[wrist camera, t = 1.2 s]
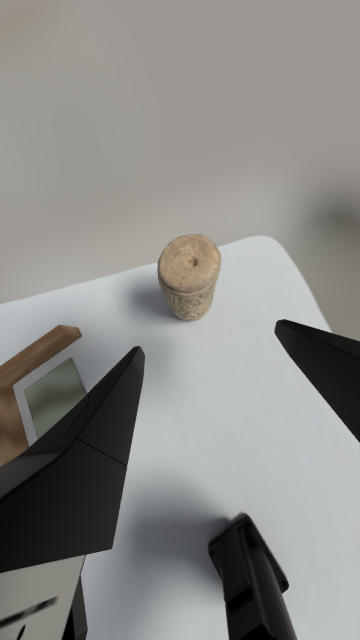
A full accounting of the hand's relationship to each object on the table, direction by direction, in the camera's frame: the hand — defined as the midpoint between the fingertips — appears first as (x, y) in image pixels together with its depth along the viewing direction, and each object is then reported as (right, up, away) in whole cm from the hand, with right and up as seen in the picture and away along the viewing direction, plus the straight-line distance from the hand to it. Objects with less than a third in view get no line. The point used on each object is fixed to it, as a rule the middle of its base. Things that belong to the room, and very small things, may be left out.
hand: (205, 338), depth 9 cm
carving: (+1, +4, +15) cm, 15 cm away
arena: (-23, -13, +14) cm, 30 cm away
